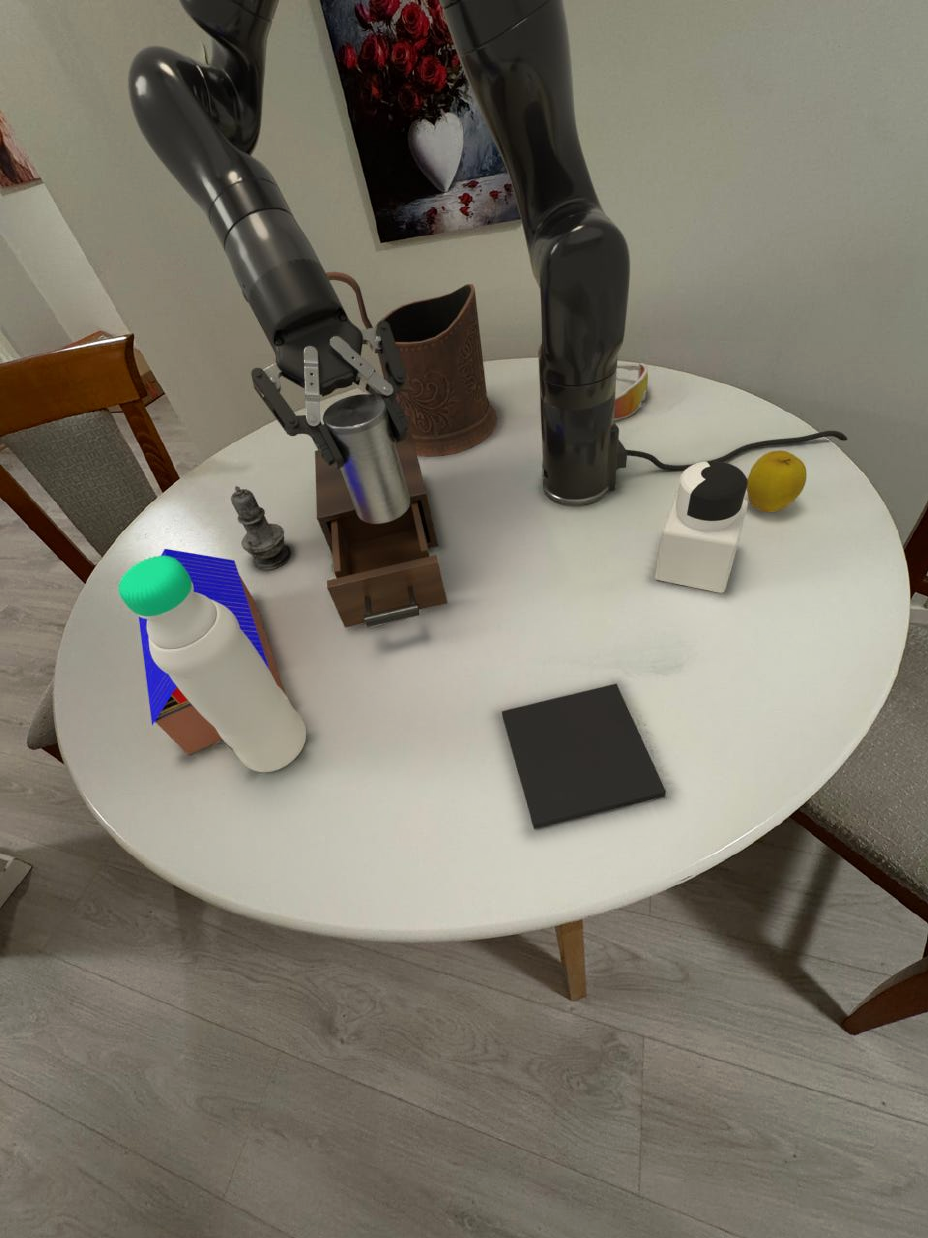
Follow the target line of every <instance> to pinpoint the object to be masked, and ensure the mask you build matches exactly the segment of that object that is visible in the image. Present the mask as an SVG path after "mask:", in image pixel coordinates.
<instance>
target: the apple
mask: <svg viewBox="0 0 928 1238" xmlns="http://www.w3.org/2000/svg"><path fill="white" fill-rule="evenodd" d="M807 475H808V474H807V467H806V465H805V463H804V462H803V461H802V460H801V459H800V458H799V457H798V456H796V455H795V454H793V453H791V452H789V451H786V450H780V449H779V450H772V451H769V452H767V453H764V454H763V455H761V456H760V457H759V458H758V459H757V460H756V461H755V462H754V464H753V465H752V467H751V469H750V471H749V474H748V476H747V480H748V485H747V489H746V493H747V498H748V500H749V502H750V504H751V506H752V507H754V509H756V510H759V511H761V512H762V513H774V512H778V511H781V510H784V509H786V508H787V507H788V506H789V505H790V504H792V503H793V502H794V501H795V500H796V499H797V498H799V496H800V495H801V494H802V492H803V490H804V488H805V486H806V482H807Z"/></svg>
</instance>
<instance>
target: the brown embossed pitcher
mask: <svg viewBox="0 0 928 1238" xmlns="http://www.w3.org/2000/svg"><path fill="white" fill-rule="evenodd" d="M325 273H326V275H327V277H328V279H329V281H338V282H343V283H345V284H347V285H348V286H349V287H351V289H352V290H353V292H354V294H355V297H356V302H357V306H358V310H359V314H360V318H361V321H362V323H363V325H364V327H365V329H369V328H374V326H373V324H372V323H371V321H370V319H369V317H368V313H367V310H366V305H365V301H364V298H363V294H362V290H361V286H360V285H359V284H358V282H357V280H356V279H354V278H353V277H352V276H351V275H350V274H348V273H344V272H339V271H325ZM381 320H384V321H386V322H388V323H389V325H390V328H391V331H392V334H393V337H394V340H395V343H396V346H397V348H398V351H399V354H400V357H401V360H402V363H403V366H404V369H405V372H406V374H407V379H406V381H405V383H404V387H403V390H402V391H401V392H400V393H397V394H396V395H395V397H396V399H397V401H398V403H399V405H400V407H401V409H402V411H403V413H404V415H405V417H406V419H407V421H408V429H410V430H411V434H412V438H413V442H414V446H415V450H416V453H417V456H419V457H420V456H422V457H443V456H447V455H452V454H457V453H460V452H463V451H467V450H469V449H471V448H474V447H475V446H477V445H479V444H481V443H483V442H484V441H485V440H486V439H487V438H489V436H491V435H492V433H493V432H494V430H495V429H496V428H497V425H498V421H499V417H498V413H497V411H496V410H495V409H494V407H493V406H492V405H491V401H490V399H489V396H488V392H487V383H486V373H485V366H484V365H485V364H484V356H483V348H482V340H481V331H480V321H479V314H478V305H477V296H476V289H475V286H474V284H473V283H467V284H464V285H463V286H461V287H458V289H456V290H454V291H452V292H449V293H446V294H443V295H440V296H434V297H430V298H424V299H420V300H415V301H411V302H408V303H405V304H402V305H400V306H398V307H396V308H394V309H393V310H391V311H389V313H387V314H385V316H383V317H382V318H381V319H380V320H379V321H381ZM375 327H377V324H376V325H375ZM377 357H378V360H379V365H380V368H381V372H382V377H383V378H384V379H385V380H386V381H388V378H387V375H386V372H385V370H384V367H383V364H382V361H381V358H380V355H379V353H377ZM408 429H407V430H408Z"/></svg>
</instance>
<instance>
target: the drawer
mask: <svg viewBox="0 0 928 1238" xmlns="http://www.w3.org/2000/svg"><path fill="white" fill-rule="evenodd" d="M331 531H332V548H333V556H332V563H333V573H334V575H335V576H334V577H335V578H331V579H328V580H326V589H327V591H328V593H329V595H330V598H331V600H332V602H333V605H334V606H335V609H336V612H337V614H338V616H339V617H340V620H341V622H342V624H343V627H344V628H349V627H353V626H358V625H363V624H365V627H366V628H371V627H377V626H380V625H384V624H388V623H392V622H397V621H400V620H401V621H402V620H405V619H410V618H413V617H418V616H421V612H420V610H427V609H430V608H434V607H438V606H443V605H447V604H448V602H449V601H448V598H447V594H446V590H445V585H444V581H443V577H442V572H441V569H440V564H439V560H438V556H437V554H434V555H430V550H429V548H428V545H427V541H426V537H425V532H424V528H423V524H422V520H421V516H420V511H419V507H418V503H417V501H415V502H410V506H409V508H408V510H407V511H406V512H405V513H404V514H403V515H402V516H400V517H399V518H397V519H395V520H393V521H390V522H387V523H381V524H372V523H367V522H364V521H363V520H361V519H360V518H359V517H358V515H354V516H350V517H346V518H341V519H337V520H333V521H331Z"/></svg>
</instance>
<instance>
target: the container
mask: <svg viewBox="0 0 928 1238" xmlns="http://www.w3.org/2000/svg"><path fill="white" fill-rule="evenodd" d="M693 464H694V465H692V466H690V467H689V468H687V469H686V470H685V471H682V472H681V474H680V478H679V483H678V490H677V491H676V492H675V494H674V497H673V500H672V502H671V506H670V507H669V511H668V514H667V517H666V519H665V522H664V524H663V528H662V530H661V535H660V536H661V537H660V542H659V549H658V556H657V562H656V568H655V576H654V578H655V580H656V581H660V582H665V583H669V584H675V585H679V586H685V587H690V588H695V589H699V590H703V591H704V590H705V591H709V592H715V593H718V594H723V593H724V592H725V591H726V590H727V589H726V588H727V585H728V582H729V579H730V574H731V571H732V567H733V565H734V561H735V556H736V554H737V551H738V547H739V543H740V538H741V535H742V531H743V527H744V522H745V519H746V514H747V509H748V506H749V501H748V500H747V499H745V496H746V493H747V485H748V477H747V476H746V474H745V473H744V471H742V469H740V468H739V467H738V466H736V465H734V464H731V463H729V462H726V461H725V462H720V461H710V460H707V461H705V460H704V461H700V462H696V463H693Z"/></svg>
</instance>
